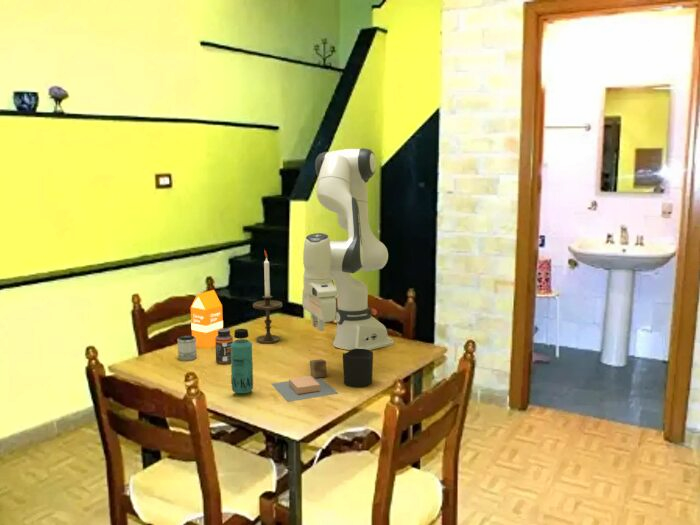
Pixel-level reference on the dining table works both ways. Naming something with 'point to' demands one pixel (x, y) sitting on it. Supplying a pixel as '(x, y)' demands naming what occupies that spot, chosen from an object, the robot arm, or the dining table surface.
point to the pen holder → (358, 368)
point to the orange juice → (206, 318)
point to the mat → (293, 396)
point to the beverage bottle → (241, 363)
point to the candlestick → (267, 308)
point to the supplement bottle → (223, 346)
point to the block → (318, 368)
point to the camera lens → (187, 348)
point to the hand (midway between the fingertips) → (318, 328)
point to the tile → (304, 385)
